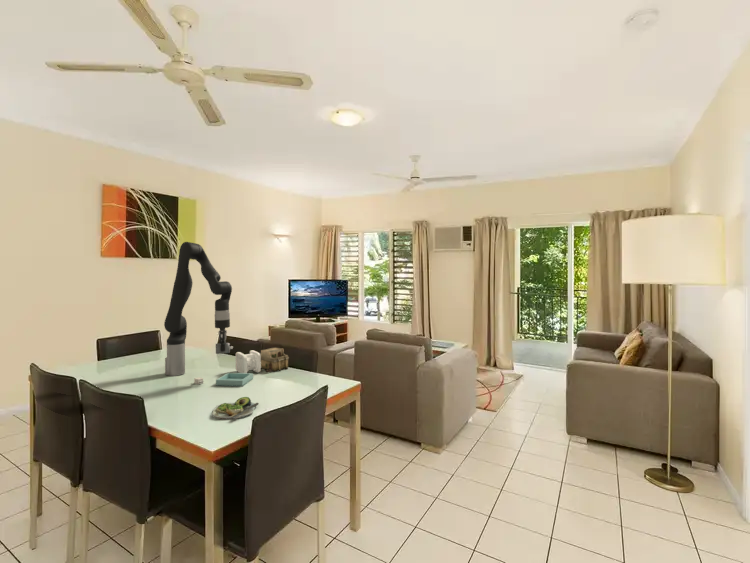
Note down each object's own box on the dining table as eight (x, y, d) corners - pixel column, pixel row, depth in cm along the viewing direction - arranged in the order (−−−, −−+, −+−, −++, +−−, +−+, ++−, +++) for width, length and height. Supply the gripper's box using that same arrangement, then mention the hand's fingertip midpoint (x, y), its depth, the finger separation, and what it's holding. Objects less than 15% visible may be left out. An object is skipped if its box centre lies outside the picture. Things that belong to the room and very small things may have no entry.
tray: (215, 385, 199) (215, 379, 199) (227, 378, 213) (227, 372, 213) (242, 386, 198) (242, 380, 198) (252, 378, 212) (252, 373, 212)
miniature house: (255, 369, 232) (255, 350, 232) (273, 365, 244) (273, 347, 244) (273, 373, 224) (273, 353, 224) (290, 368, 236) (291, 349, 236)
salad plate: (255, 421, 154) (255, 409, 153) (206, 424, 150) (206, 412, 150) (259, 404, 173) (259, 394, 172) (217, 407, 169) (217, 396, 169)
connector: (215, 353, 207) (215, 344, 207) (216, 352, 210) (215, 343, 210) (232, 352, 209) (232, 343, 209) (233, 351, 212) (232, 342, 212)
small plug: (194, 383, 204) (194, 378, 204) (199, 382, 206) (199, 377, 206) (199, 385, 200) (199, 380, 200) (204, 384, 202) (204, 379, 202)
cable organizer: (261, 374, 223) (261, 353, 222) (243, 376, 216) (243, 356, 216) (252, 368, 235) (252, 349, 234) (234, 371, 228) (234, 351, 228)
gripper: (228, 319, 203) (229, 352, 204) (230, 317, 217) (231, 347, 217) (213, 320, 201) (214, 353, 201) (216, 317, 214) (216, 348, 215)
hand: (223, 350), depth 209 cm, fingers closed on connector, 3 cm apart
